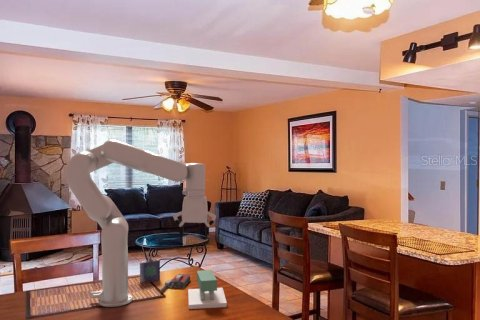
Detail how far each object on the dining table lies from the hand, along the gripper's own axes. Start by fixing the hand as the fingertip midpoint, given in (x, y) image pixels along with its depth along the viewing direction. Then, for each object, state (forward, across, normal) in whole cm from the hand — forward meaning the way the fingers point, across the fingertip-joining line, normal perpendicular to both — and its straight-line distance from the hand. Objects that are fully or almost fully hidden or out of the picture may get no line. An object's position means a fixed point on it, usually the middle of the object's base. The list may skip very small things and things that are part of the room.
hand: (194, 236), depth 166 cm
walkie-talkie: (+25, -7, +13) cm, 29 cm away
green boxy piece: (+18, +5, -6) cm, 20 cm away
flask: (+25, -20, +22) cm, 38 cm away
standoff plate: (+24, +6, -6) cm, 25 cm away
